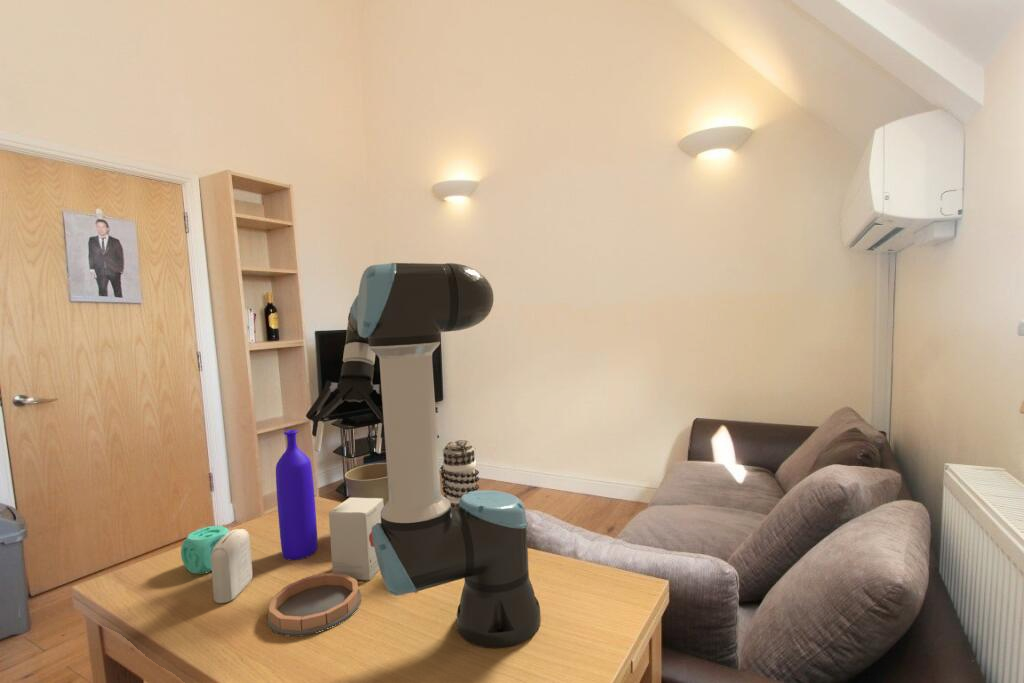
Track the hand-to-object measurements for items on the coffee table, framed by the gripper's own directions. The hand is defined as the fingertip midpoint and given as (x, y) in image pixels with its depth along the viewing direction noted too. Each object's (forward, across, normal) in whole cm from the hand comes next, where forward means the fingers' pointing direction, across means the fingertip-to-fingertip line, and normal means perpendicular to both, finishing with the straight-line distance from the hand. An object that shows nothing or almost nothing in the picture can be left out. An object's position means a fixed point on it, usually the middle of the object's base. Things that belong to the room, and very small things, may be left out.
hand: (347, 451), depth 117 cm
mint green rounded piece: (+25, +31, -17) cm, 43 cm away
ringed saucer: (+31, +1, +6) cm, 32 cm away
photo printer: (+29, +20, -4) cm, 36 cm away
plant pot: (+16, -6, -25) cm, 31 cm away
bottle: (+22, +11, -18) cm, 30 cm away
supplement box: (+25, -5, -6) cm, 27 cm away
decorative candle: (+20, -28, -12) cm, 36 cm away
